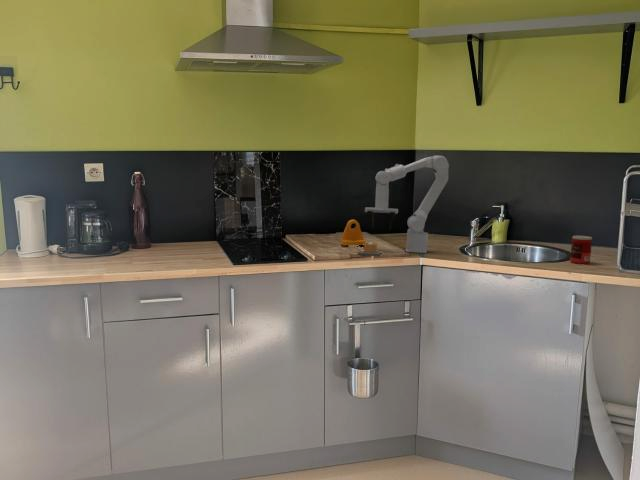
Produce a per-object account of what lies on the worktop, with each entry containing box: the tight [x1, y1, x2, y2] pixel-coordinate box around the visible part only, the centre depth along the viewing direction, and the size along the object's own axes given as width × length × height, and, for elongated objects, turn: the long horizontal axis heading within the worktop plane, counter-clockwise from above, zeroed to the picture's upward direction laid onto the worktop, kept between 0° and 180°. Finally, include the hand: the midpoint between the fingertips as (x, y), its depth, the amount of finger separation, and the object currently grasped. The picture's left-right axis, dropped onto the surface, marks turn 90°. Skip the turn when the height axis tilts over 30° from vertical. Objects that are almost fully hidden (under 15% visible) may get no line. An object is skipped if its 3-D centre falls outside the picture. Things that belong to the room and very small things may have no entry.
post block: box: [357, 241, 382, 257], centre depth 267 cm, size 9×9×5 cm
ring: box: [363, 242, 378, 253], centre depth 267 cm, size 5×5×4 cm
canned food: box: [569, 235, 593, 265], centre depth 257 cm, size 8×8×11 cm
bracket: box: [340, 219, 367, 246], centre depth 287 cm, size 11×7×12 cm, turn 95°
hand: (380, 228), depth 274 cm, fingers open, 7 cm apart
